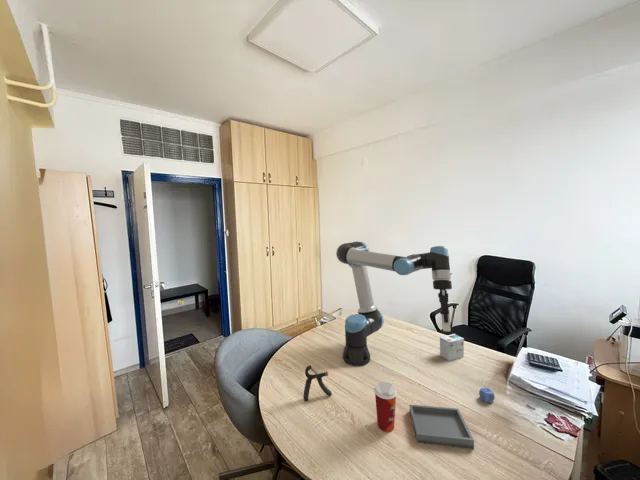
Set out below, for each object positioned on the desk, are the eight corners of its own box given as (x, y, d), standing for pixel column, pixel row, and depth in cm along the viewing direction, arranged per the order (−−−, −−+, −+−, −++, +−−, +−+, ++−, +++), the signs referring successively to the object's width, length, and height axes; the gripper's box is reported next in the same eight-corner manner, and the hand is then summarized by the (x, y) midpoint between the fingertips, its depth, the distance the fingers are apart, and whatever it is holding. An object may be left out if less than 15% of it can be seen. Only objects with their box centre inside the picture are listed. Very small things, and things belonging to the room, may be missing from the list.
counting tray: (417, 442, 86) (417, 434, 86) (409, 411, 100) (409, 404, 100) (473, 448, 83) (474, 440, 83) (458, 415, 97) (458, 408, 97)
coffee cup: (398, 436, 89) (398, 396, 88) (374, 433, 91) (374, 394, 89) (396, 417, 97) (395, 381, 96) (374, 415, 99) (373, 379, 98)
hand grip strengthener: (332, 397, 109) (331, 365, 108) (303, 402, 107) (302, 368, 106) (331, 394, 112) (330, 362, 110) (303, 398, 110) (301, 365, 108)
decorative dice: (494, 401, 104) (495, 392, 104) (487, 403, 103) (487, 394, 102) (485, 395, 108) (486, 386, 107) (478, 397, 107) (478, 388, 106)
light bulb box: (454, 351, 143) (454, 333, 142) (464, 357, 137) (464, 338, 136) (439, 355, 140) (439, 336, 139) (448, 361, 133) (449, 342, 132)
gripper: (452, 276, 100) (458, 332, 95) (449, 283, 122) (454, 328, 117) (432, 277, 103) (436, 331, 98) (433, 283, 125) (436, 327, 120)
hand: (446, 330), depth 107 cm, fingers open, 13 cm apart
